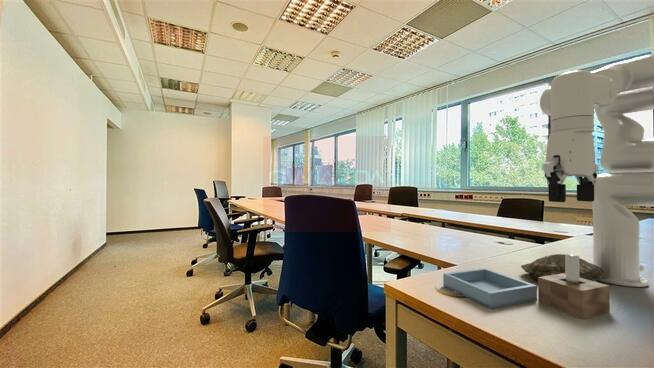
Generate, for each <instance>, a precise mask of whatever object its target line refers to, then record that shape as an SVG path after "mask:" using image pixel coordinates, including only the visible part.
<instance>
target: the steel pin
mask: <svg viewBox="0 0 654 368" xmlns="http://www.w3.org/2000/svg"><path fill="white" fill-rule="evenodd" d="M564 255H565V282H568V283H572V284H575V285H578V284H579V258H580V255H578V254H572V253H565V254H564Z"/></svg>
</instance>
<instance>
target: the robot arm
mask: <svg viewBox="0 0 654 368" xmlns="http://www.w3.org/2000/svg"><path fill="white" fill-rule="evenodd" d="M539 107H540V110H541V111H542V112H543V114H545V115H547V116H550V134H548V138H547V139H548V140H547V144H546V150H545V162H544V163H543V164H542V170H543V172H544V177H545V178H546V184H547V185H548V202H550V203H551V202H552V203H566V201H567V200H566V198H567V196H566V195H567V193H566V192H567V187H566V183H565V181H566V179H567V177H575V178H576V180H577V183H578V184H576V201H578V202H588V203H589V202H591V207H592V208H591V209H592V248H593V249H592V264H594V265H596V266H598V267H600V268H601V269H603V271H604V273H605V274H604V275H603V276H602V277H600V278H598V279H597V280H596V281H599V282H601V283H603V282H604V283H605V284H606V283H607V284H612V285H616V286H617V285H618V286H623V287H634V288H635V287H636V288H640V287H641V288H643V287H647V286H648V285H649V281H648V279H646V278H644V277H642V276H641V274H640V273H641V272H644V271H645V268H644V266H643V265H641V264H640V262H641V261H640V257H641V255H640V253H641V252H640V249H641V248H640V221H639V219H638V217H637V216H636V215H635V214H634V213H633V212H632V211H631V210H630V209H629V208H627V207H629V206H630V207H654V138H646V139H645V138H644V136H645V135H644V134H645V129H644V127H643V126H642V124H640V123H639V122H638V121H636V120H635V119H633V118H631V117H629V116H626V115H625V114H631V113H638V112H644V111H645V112H646V111H651V110H654V53H651V54H646V55H641V56H637V57H634V58H632V59H628V60H623V61H619V62H616V63H612V64H608V65H606V66H604V67H601V68H599V69H596V70H593V71H590V70H585V69H584V70H583V69H582V70H572V71H567V72H564V73H561V74H558V75H557V76H555V77H554V78H553V79H552V80H551V82H550V86H549V87H547V88H545V90H543V92H542V94H541V96H540V99H539ZM595 115H596V118H597V120H598V122H599V124H600V125H601V128H602V129H603V133H604V135H603V141H602V146H601V153H600V159H599V160H600V167H601V168H602V169H603V170H604V171H606V172H605V173H601V174H598V170H599V168H600V167H599V165H598V164H596V154H595V153H596V151H595V144H594V143H595V142H594V137H593V133H594V132H595Z"/></svg>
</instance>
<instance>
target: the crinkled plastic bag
mask: <svg viewBox="0 0 654 368" xmlns="http://www.w3.org/2000/svg"><path fill="white" fill-rule="evenodd" d="M520 268H521V269H522V270H523V271H524V272H526V273H527V274H528V277H529V278H531V279H534V280H536V281H538V277H543V276H549V275H556V274H562V273H564V274H565V254H562V253H560V254H559V253H558V254H550V255H546V256H543V257H539V258H537V259H535V260H534V261H532V262H530V263H529V262H528V263H525V264H522V265H521V266H520ZM604 274H605V273H604V271H603V269H601V268H600V267H598V266H596V265H594V264H593V262H592V263H591V262H589V261H586V260H585V259H582V258H581V257H579V278H583V279H587V280H590V281H594V282H596V281H598V280H597V279H598V278H600V277H602V276H603V275H604Z"/></svg>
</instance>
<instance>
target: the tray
mask: <svg viewBox="0 0 654 368" xmlns="http://www.w3.org/2000/svg"><path fill="white" fill-rule="evenodd" d="M442 274H443V275H442V277H443V278H442V279H443V285H442V286H443V287H444V288H446V287H447V289H449V290H450V291H453V292H455V291H456V292H455V293H457V292H458V293H457V294H459V293H460V294H459V295H461V294H462V295H461V296H463V297H465V298H467V299H470V300H472V301H473V302H475V303H478V304H480V305H481V306H484V307H486V308H487V309H497V308H501V307H502V308H503V307H507V306H513V305H517V304H523V303H527V302H533V301H538V286H537V285H536V284H534V283H530V282H527V281H524V280H522V279H519V278H515V277H513V276H509V275H506V274H502V273H501V272H497V271H494V270H491V269H488V268H486V267H484V268H483V267H482V268H477V269H475V268H474V269H469V270H468V269H467V270H462V271H461V270H460V271H453V272H444V273H442Z"/></svg>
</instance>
